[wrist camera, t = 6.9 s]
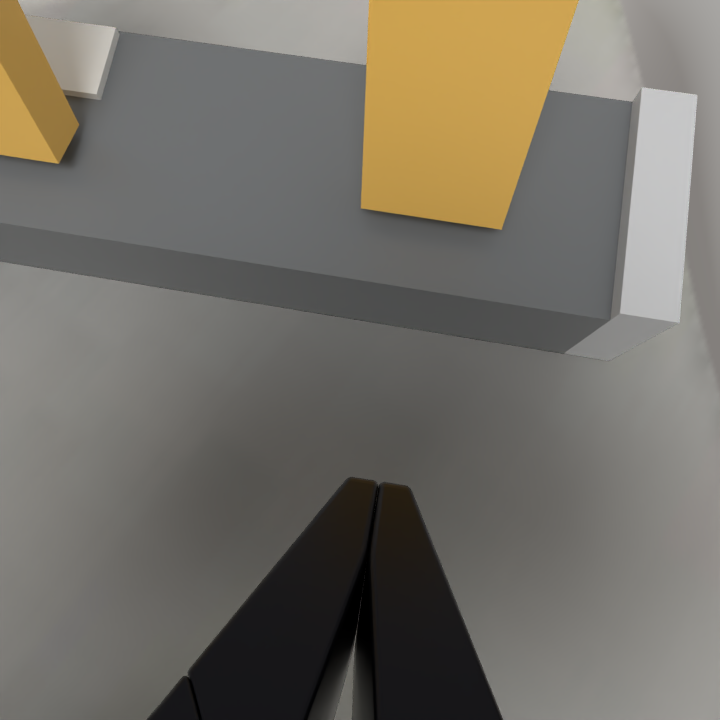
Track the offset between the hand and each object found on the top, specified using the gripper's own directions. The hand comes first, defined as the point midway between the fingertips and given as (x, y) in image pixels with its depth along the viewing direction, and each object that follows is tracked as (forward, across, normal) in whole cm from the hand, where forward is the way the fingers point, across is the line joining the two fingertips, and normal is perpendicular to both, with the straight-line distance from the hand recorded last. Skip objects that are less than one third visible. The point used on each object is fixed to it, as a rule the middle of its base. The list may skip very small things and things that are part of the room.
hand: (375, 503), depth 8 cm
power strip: (+16, +6, +2) cm, 17 cm away
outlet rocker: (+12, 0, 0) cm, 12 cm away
